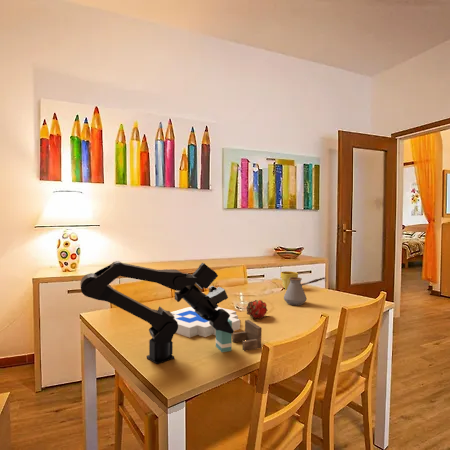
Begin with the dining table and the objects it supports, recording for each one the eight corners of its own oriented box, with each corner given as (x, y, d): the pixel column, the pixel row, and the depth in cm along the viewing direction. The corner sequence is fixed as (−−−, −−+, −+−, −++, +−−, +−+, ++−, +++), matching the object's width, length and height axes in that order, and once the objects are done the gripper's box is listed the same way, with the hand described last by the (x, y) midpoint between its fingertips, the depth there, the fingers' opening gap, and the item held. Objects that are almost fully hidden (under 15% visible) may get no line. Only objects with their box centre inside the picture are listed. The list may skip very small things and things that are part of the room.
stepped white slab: (205, 332, 124) (154, 316, 141) (205, 344, 124) (154, 326, 142) (251, 315, 145) (202, 303, 163) (251, 324, 145) (202, 311, 163)
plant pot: (301, 289, 210) (301, 273, 209) (287, 291, 204) (288, 274, 204) (289, 286, 218) (290, 270, 218) (276, 287, 213) (277, 271, 213)
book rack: (244, 351, 117) (244, 330, 117) (232, 341, 126) (232, 321, 125) (261, 348, 120) (261, 327, 119) (248, 338, 128) (248, 319, 128)
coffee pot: (279, 304, 176) (280, 274, 176) (288, 299, 186) (289, 271, 185) (321, 311, 165) (322, 279, 164) (329, 305, 174) (329, 275, 174)
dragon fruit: (246, 324, 150) (262, 322, 158) (260, 315, 145) (276, 313, 154) (238, 305, 154) (255, 304, 162) (252, 296, 149) (268, 296, 158)
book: (221, 352, 116) (222, 322, 115) (215, 346, 121) (215, 317, 121) (231, 350, 117) (232, 321, 117) (225, 344, 122) (225, 316, 122)
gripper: (224, 286, 108) (255, 317, 113) (203, 275, 125) (231, 303, 130) (199, 314, 105) (233, 345, 110) (182, 299, 122) (211, 327, 127)
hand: (227, 328), depth 119 cm, fingers open, 8 cm apart
